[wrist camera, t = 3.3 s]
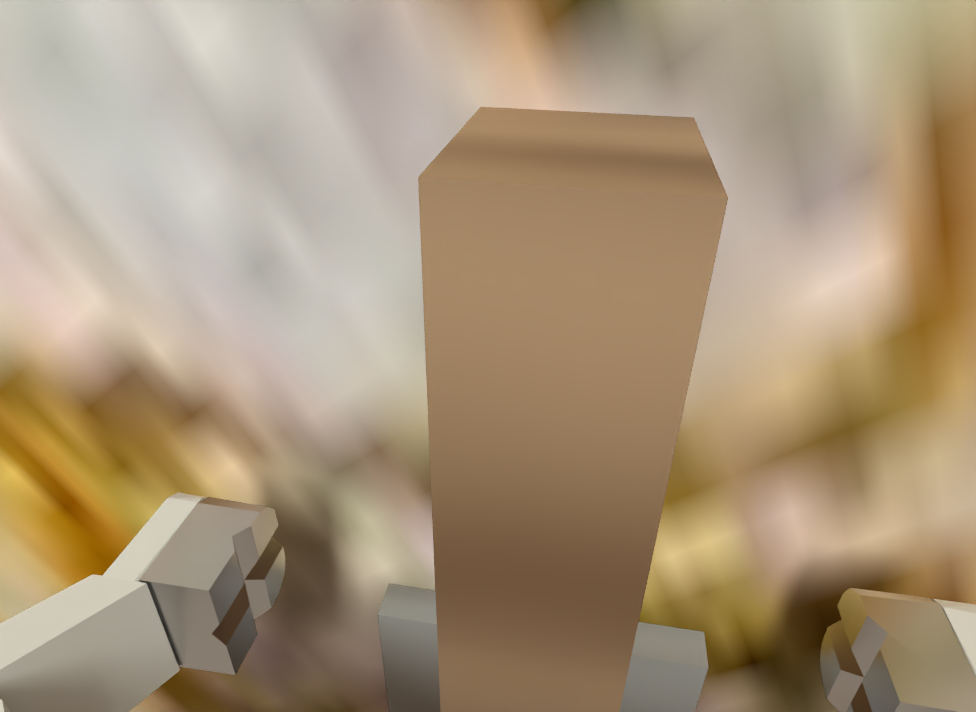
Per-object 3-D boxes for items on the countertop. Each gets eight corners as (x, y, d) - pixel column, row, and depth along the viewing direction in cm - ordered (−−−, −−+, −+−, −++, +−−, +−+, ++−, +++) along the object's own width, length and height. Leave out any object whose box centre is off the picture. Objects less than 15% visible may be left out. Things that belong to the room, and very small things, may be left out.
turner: (344, 99, 8) (224, 164, 6) (852, 124, 7) (971, 214, 5) (405, 744, 16) (366, 891, 14) (655, 791, 15) (662, 957, 13)
